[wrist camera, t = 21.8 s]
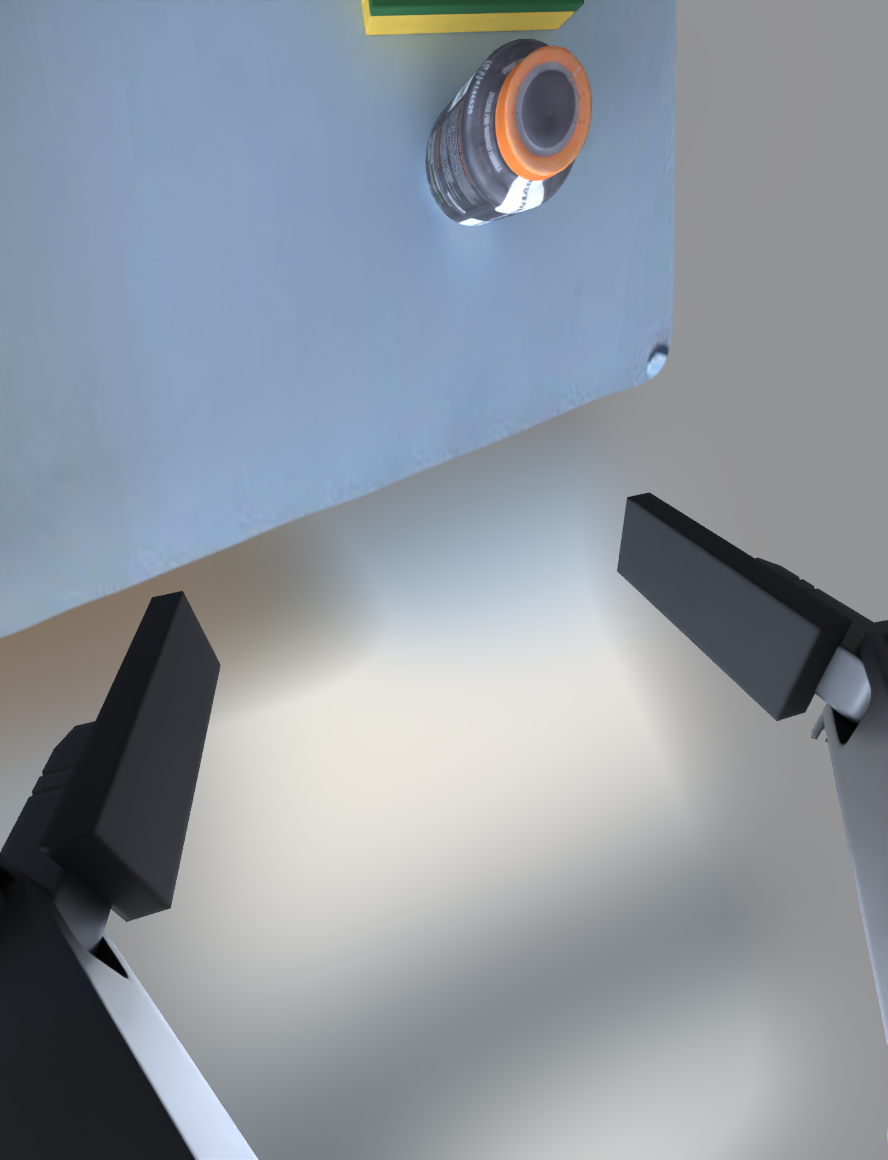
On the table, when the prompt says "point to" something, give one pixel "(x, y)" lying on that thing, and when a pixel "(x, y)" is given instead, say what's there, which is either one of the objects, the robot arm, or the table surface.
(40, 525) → the table surface
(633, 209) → the table surface
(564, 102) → the orange-lidded supplement jar
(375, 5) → the sponge
